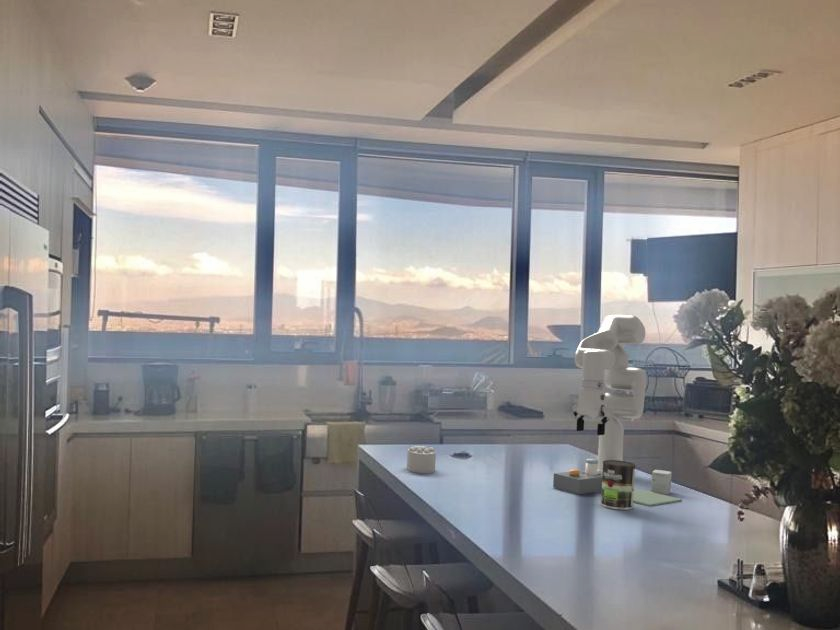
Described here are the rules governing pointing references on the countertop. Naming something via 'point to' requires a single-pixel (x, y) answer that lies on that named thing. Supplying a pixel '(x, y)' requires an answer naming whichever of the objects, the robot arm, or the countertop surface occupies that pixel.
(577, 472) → the orange egg
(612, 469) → the coffee can
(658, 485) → the product box
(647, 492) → the mat
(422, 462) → the lumpy-topped squat cylinder
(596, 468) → the cartridge
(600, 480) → the block
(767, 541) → the countertop surface
